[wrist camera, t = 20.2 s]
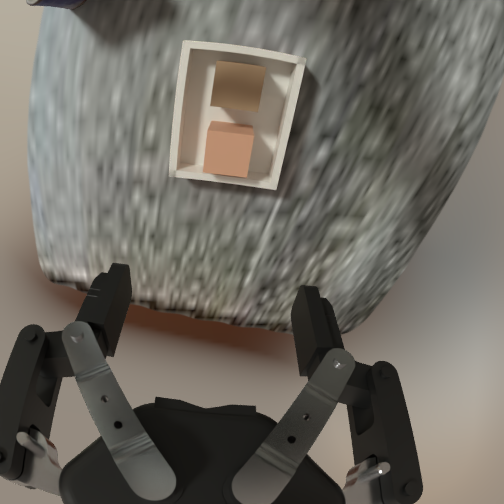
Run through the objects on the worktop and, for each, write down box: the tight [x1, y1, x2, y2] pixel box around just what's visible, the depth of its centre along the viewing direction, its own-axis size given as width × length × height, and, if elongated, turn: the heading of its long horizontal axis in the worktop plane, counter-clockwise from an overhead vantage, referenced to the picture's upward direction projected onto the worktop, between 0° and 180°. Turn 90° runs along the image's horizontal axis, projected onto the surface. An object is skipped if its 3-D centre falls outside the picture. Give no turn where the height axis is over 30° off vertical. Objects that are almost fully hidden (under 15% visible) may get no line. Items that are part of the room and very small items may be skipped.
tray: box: [169, 40, 307, 190], centre depth 30 cm, size 15×12×4 cm
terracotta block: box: [203, 121, 254, 178], centre depth 30 cm, size 4×4×4 cm
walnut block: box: [210, 60, 266, 112], centre depth 26 cm, size 4×4×4 cm
